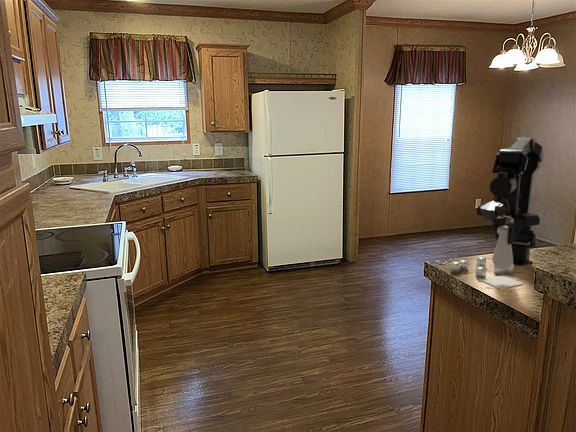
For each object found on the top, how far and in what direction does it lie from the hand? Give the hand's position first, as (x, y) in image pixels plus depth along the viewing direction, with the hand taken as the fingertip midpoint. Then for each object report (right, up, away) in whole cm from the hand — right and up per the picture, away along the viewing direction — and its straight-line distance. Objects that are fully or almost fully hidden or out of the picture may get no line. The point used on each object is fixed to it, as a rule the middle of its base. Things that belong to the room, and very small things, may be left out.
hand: (504, 242), depth 138 cm
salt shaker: (0, -8, +2) cm, 8 cm away
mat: (0, -13, +3) cm, 13 cm away
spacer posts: (-2, -10, +13) cm, 17 cm away
